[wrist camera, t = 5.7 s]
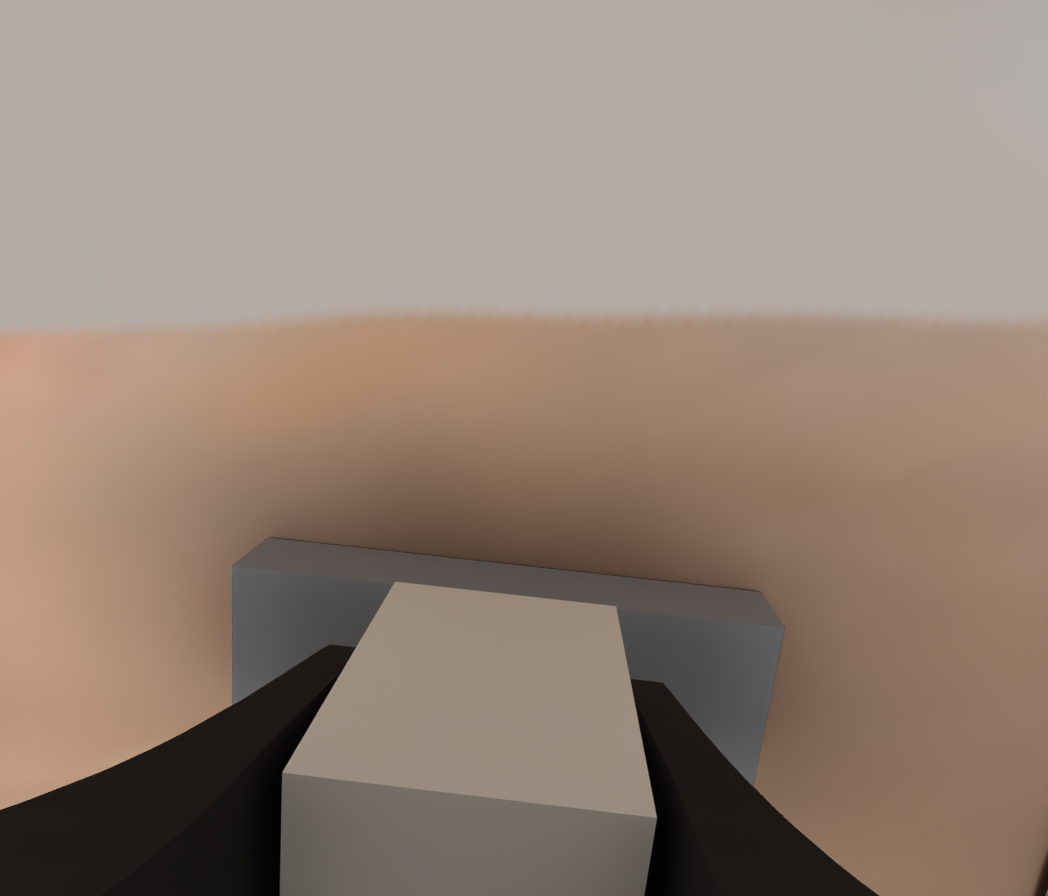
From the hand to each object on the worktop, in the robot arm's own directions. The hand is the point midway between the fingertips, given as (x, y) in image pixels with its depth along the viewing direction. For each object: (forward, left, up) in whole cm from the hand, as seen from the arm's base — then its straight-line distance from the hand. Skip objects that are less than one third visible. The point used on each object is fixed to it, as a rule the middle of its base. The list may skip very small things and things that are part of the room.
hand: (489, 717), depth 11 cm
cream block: (0, +4, -1) cm, 4 cm away
